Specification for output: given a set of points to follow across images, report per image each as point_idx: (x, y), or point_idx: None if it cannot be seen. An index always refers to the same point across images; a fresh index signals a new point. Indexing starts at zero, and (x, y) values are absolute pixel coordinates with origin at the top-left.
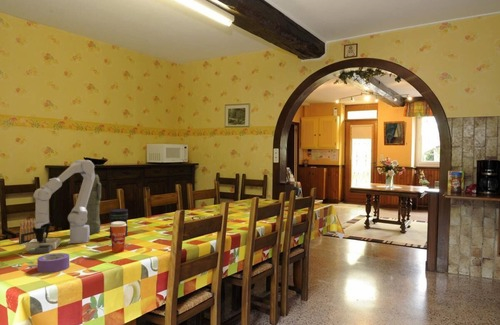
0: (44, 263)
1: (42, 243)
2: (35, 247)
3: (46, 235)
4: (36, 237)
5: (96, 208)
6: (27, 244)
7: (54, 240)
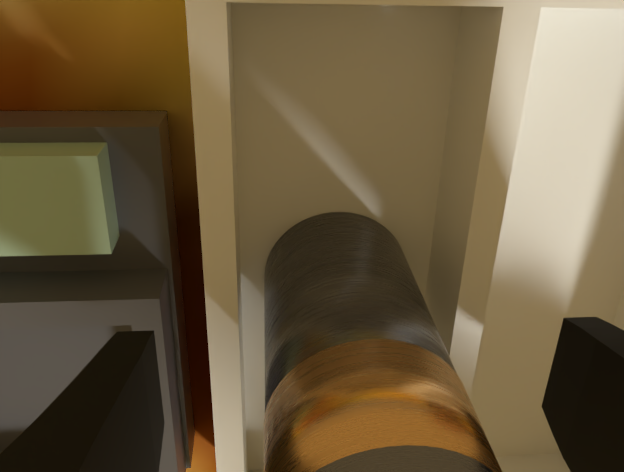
0: None
1: (219, 364)
2: (43, 249)
3: (577, 452)
4: (42, 416)
5: None
6: (188, 12)
7: None
